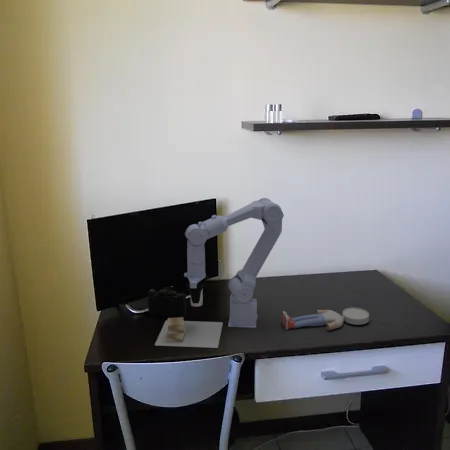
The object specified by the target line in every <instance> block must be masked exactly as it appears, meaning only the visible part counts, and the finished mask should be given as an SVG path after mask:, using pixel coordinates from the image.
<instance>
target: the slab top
mask: <svg viewBox="0 0 450 450" xmlns="http://www.w3.org/2000/svg"><path fill="white" fill-rule="evenodd" d="M167 320H168V334H176V333H184V321H185V320H184V318H183V317H179V318H174V317H167Z"/></svg>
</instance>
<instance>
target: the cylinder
mask: <svg viewBox="0 0 450 450" xmlns="http://www.w3.org/2000/svg"><path fill="white" fill-rule="evenodd" d="M189 295H190V294H189ZM203 296H204V295H203V289H202V290H201V295H200V301H199V303H192V299H191V295H190V306H192V307H202V306H203V304H204V303H203V301H204V300H203Z"/></svg>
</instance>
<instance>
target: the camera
mask: <svg viewBox="0 0 450 450" xmlns="http://www.w3.org/2000/svg"><path fill="white" fill-rule="evenodd" d="M147 297H148V298H147V305H148V307H147V308H148V310H147V311H148V314H149V316H156V317H157V316H158V317H165V318H166V317H167V318H179V317H183V319H185V318H186V317H187V296H186V294H185V293H184V292H179V293H178V292H177V291H175V290H174V289H168V288H162V289H160V290H159V291H156V290H155V289H154V288H153V289H152V288H151V289H150V290H148V292H147Z"/></svg>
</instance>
